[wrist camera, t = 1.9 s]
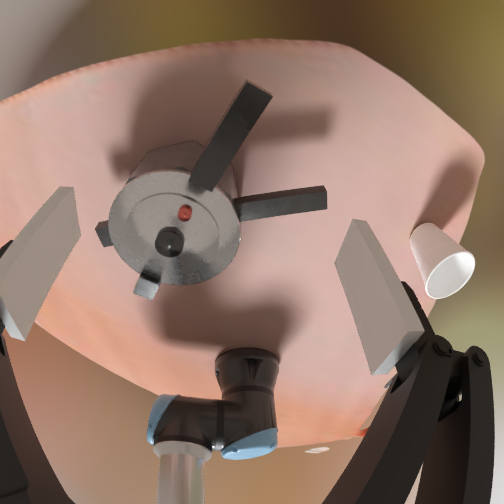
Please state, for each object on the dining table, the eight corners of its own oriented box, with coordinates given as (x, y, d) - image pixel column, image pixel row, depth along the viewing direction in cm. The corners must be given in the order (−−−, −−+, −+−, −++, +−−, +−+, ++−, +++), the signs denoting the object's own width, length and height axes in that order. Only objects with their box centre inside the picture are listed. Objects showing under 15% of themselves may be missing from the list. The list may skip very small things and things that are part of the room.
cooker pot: (133, 247, 48) (118, 285, 40) (100, 164, 38) (73, 193, 31) (315, 218, 46) (329, 255, 39) (308, 122, 37) (327, 143, 30)
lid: (195, 306, 43) (194, 322, 41) (94, 265, 38) (87, 280, 35) (324, 127, 28) (333, 135, 26) (185, 49, 23) (179, 48, 20)
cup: (392, 231, 48) (419, 274, 39) (437, 202, 44) (472, 240, 36) (407, 265, 53) (431, 307, 44) (448, 239, 49) (477, 277, 41)
